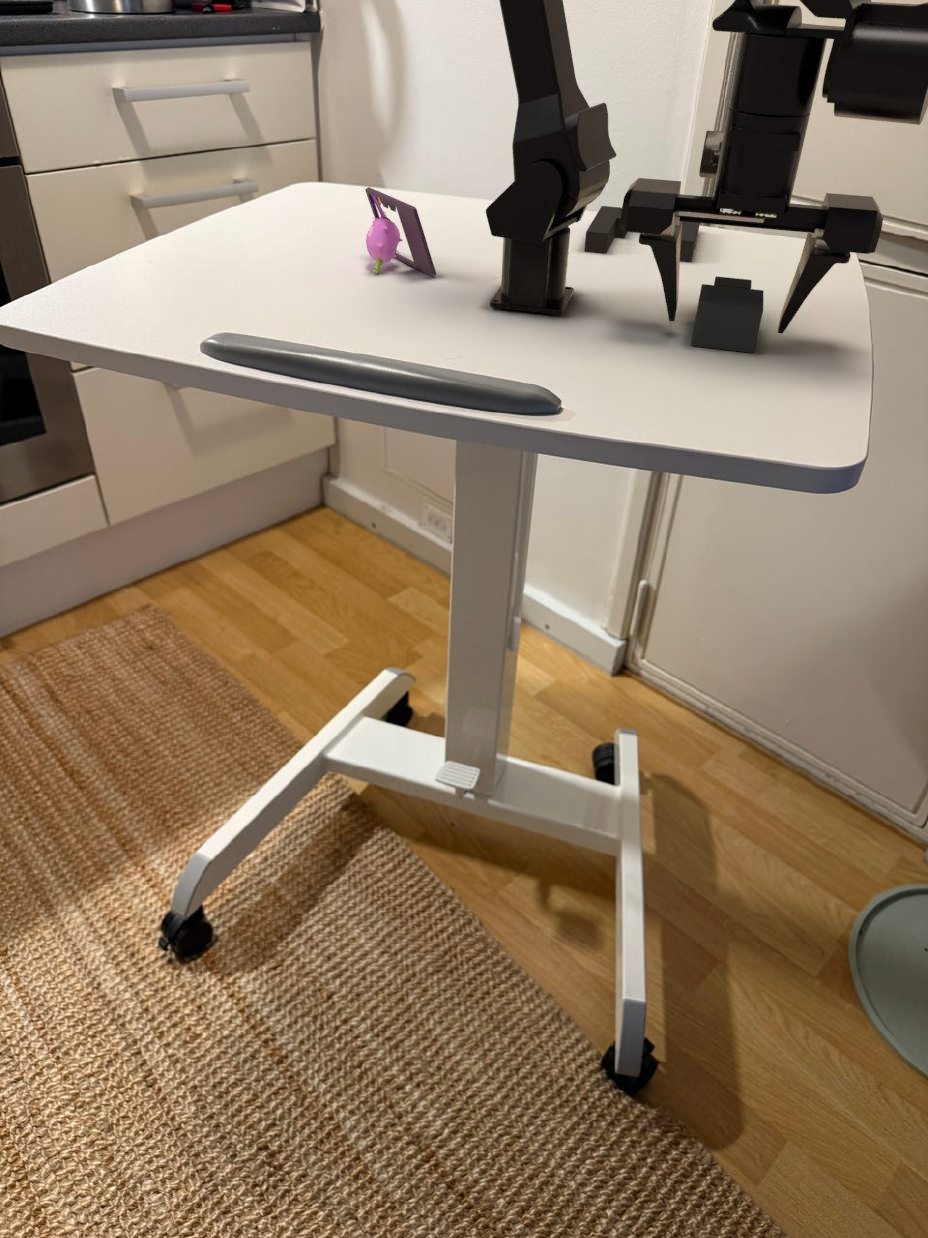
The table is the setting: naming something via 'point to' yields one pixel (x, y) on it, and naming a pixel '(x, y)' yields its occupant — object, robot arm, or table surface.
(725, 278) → the pad piece
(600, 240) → the base pad
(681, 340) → the table surface
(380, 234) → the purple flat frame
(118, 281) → the table surface
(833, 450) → the table surface
